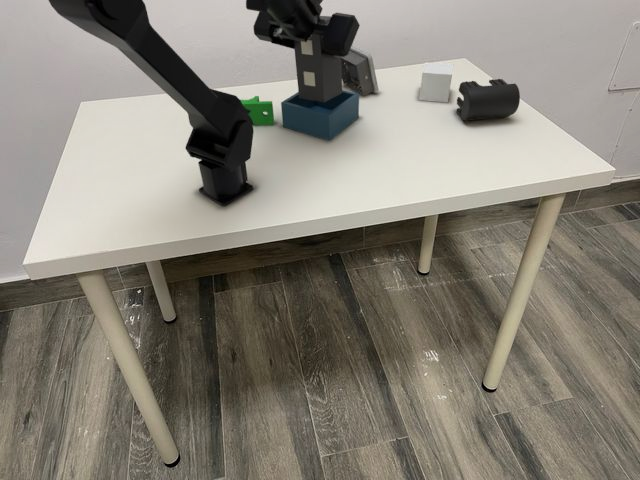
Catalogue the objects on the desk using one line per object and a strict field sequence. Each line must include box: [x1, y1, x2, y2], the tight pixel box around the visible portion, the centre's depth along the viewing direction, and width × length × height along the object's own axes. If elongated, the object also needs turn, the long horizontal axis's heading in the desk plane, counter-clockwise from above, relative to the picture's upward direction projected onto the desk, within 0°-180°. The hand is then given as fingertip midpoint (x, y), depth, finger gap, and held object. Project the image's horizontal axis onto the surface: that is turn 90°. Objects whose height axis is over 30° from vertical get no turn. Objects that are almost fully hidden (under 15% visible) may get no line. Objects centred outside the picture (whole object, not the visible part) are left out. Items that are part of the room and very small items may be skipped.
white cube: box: [418, 61, 454, 103], centre depth 102 cm, size 6×6×6 cm
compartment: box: [280, 89, 360, 141], centre depth 94 cm, size 11×11×5 cm
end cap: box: [455, 78, 521, 121], centre depth 93 cm, size 10×7×7 cm
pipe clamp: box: [240, 95, 275, 126], centre depth 95 cm, size 11×4×5 cm, turn 89°
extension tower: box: [293, 15, 343, 102], centre depth 87 cm, size 6×6×14 cm
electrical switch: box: [341, 45, 380, 97], centre depth 104 cm, size 9×5×9 cm, turn 32°
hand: (323, 53), depth 88 cm, fingers closed on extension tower, 7 cm apart
